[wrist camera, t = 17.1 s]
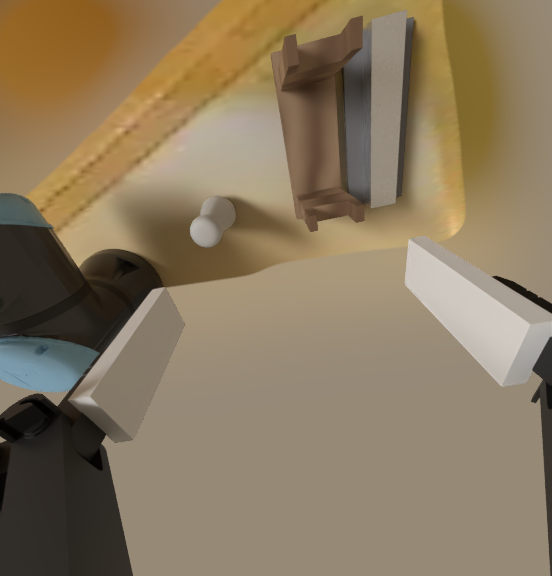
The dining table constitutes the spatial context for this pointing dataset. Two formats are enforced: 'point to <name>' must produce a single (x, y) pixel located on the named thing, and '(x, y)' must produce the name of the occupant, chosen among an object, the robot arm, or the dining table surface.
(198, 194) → the dining table surface
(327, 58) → the bracket stand
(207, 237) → the salt shaker
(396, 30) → the metal rail
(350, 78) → the rubber mat
